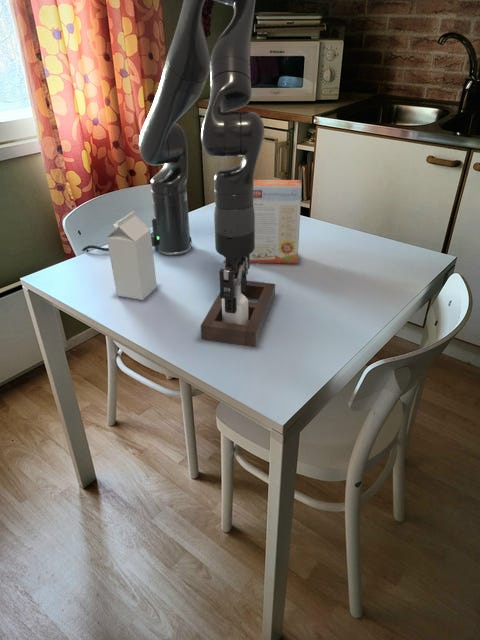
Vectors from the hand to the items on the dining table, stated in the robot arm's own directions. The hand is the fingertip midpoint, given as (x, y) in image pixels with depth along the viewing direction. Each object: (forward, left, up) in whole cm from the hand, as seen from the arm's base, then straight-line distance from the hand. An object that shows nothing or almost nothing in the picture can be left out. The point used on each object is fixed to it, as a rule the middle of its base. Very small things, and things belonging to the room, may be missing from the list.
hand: (236, 301), depth 99 cm
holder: (0, +5, -7) cm, 8 cm away
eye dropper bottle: (0, 0, -7) cm, 7 cm away
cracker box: (+1, +35, -7) cm, 35 cm away
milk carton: (-27, +10, -7) cm, 30 cm away
